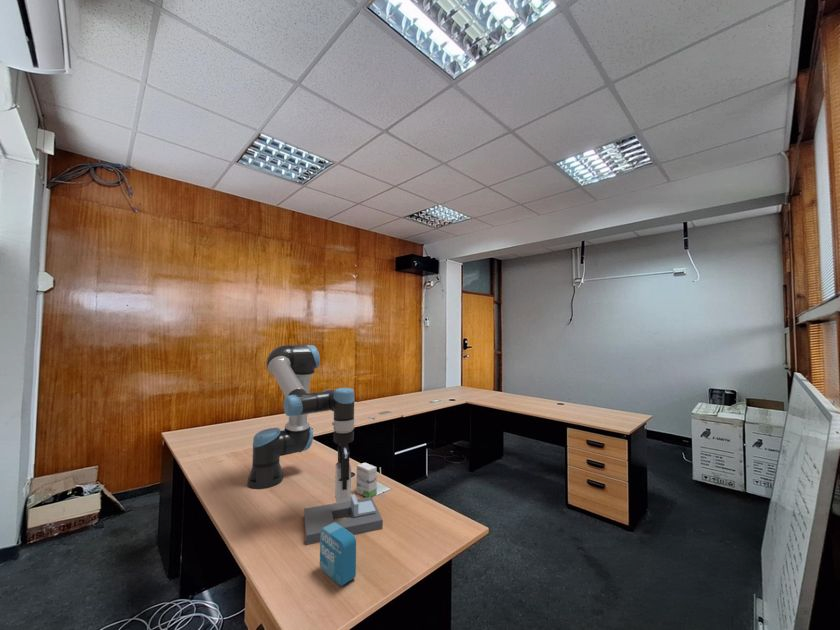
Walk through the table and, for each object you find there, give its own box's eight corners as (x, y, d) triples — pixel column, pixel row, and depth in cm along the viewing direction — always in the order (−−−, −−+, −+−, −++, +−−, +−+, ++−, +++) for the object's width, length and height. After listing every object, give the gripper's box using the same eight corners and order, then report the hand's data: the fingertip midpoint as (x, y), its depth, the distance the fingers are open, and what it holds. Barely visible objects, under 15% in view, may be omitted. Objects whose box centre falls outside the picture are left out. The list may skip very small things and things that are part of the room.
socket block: (304, 516, 126) (304, 508, 126) (371, 504, 135) (371, 496, 136) (306, 544, 109) (306, 535, 110) (382, 528, 119) (382, 519, 119)
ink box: (377, 494, 144) (377, 466, 145) (368, 498, 140) (368, 470, 141) (364, 488, 149) (364, 461, 150) (355, 492, 146) (356, 464, 146)
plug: (335, 497, 124) (335, 462, 125) (348, 494, 126) (349, 460, 127) (336, 503, 120) (337, 467, 120) (350, 500, 121) (351, 465, 122)
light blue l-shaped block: (350, 506, 128) (350, 494, 128) (371, 502, 131) (371, 491, 131) (354, 516, 120) (354, 504, 120) (375, 512, 123) (375, 500, 123)
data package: (319, 567, 99) (320, 526, 99) (332, 560, 102) (333, 520, 103) (342, 588, 91) (343, 543, 91) (356, 579, 94) (356, 536, 95)
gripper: (330, 425, 131) (329, 485, 130) (336, 438, 115) (335, 508, 113) (349, 423, 134) (349, 482, 133) (358, 436, 117) (357, 504, 116)
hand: (342, 494), depth 123 cm, fingers closed on plug, 5 cm apart
